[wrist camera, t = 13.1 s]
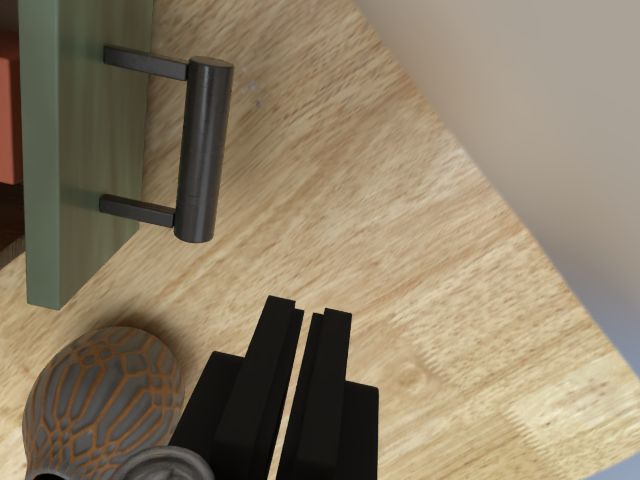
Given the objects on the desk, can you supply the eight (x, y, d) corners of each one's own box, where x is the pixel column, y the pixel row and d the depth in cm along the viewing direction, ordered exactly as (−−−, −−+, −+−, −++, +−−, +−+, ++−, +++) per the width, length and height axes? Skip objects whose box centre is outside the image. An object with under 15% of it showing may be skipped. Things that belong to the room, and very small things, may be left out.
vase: (148, 284, 29) (59, 400, 21) (224, 385, 31) (169, 523, 23) (49, 336, 31) (-66, 459, 23) (127, 427, 33) (46, 568, 25)
